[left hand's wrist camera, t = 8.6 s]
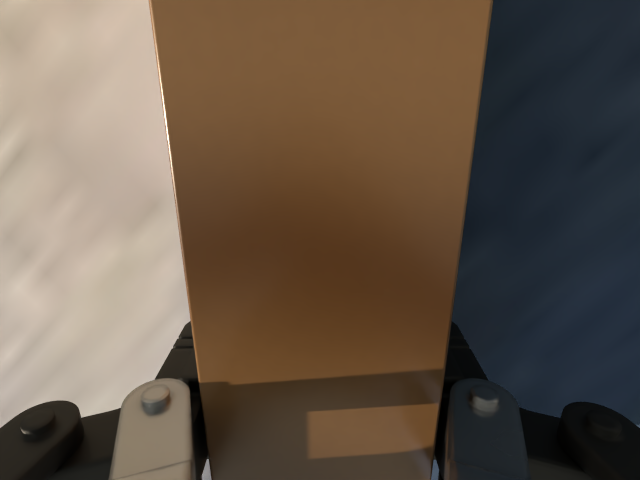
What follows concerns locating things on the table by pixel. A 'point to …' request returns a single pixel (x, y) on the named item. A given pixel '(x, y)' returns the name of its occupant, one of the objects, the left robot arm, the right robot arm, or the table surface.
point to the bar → (321, 222)
